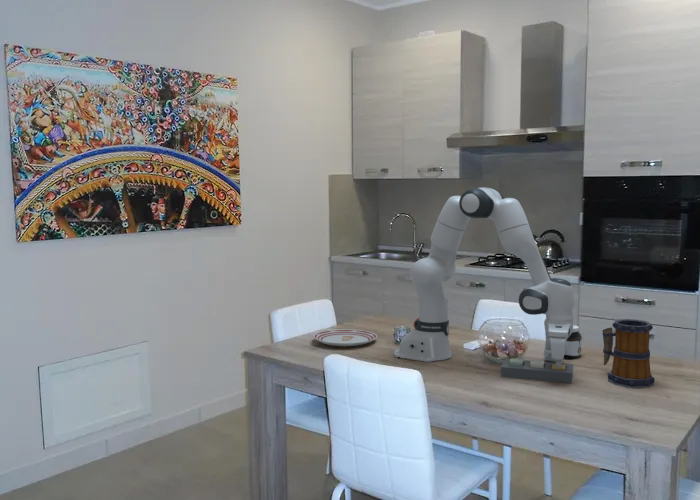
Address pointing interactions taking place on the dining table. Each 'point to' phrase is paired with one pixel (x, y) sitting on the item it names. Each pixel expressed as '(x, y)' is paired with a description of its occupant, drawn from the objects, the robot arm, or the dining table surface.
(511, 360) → the sage-green key
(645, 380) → the mug
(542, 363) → the cream key
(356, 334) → the dinner plate
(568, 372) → the keypad
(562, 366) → the ochre key
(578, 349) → the spread jar
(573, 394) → the dining table surface
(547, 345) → the plastic bottle
